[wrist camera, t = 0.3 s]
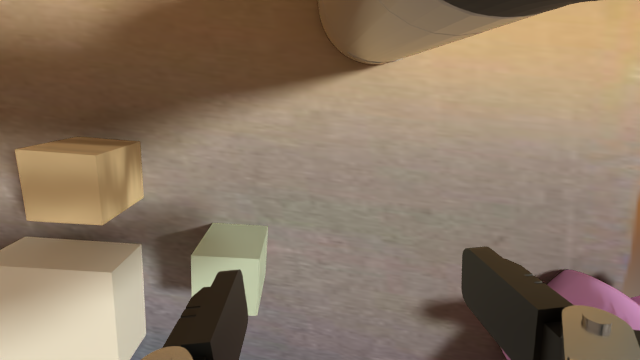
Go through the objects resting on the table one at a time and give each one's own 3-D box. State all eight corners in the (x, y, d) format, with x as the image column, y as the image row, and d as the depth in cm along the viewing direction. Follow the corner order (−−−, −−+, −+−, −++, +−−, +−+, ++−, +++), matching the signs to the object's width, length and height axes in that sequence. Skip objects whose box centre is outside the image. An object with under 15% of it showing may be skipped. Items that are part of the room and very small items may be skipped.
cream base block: (27, 235, 29) (-28, 264, 24) (142, 242, 29) (111, 272, 25) (42, 327, 31) (-5, 370, 26) (147, 332, 32) (119, 374, 27)
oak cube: (77, 136, 26) (14, 149, 20) (140, 141, 27) (95, 155, 21) (84, 193, 28) (26, 220, 22) (143, 197, 28) (102, 225, 22)
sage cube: (213, 222, 29) (190, 255, 23) (267, 225, 29) (259, 259, 24) (213, 270, 30) (192, 313, 25) (265, 273, 31) (257, 315, 25)
